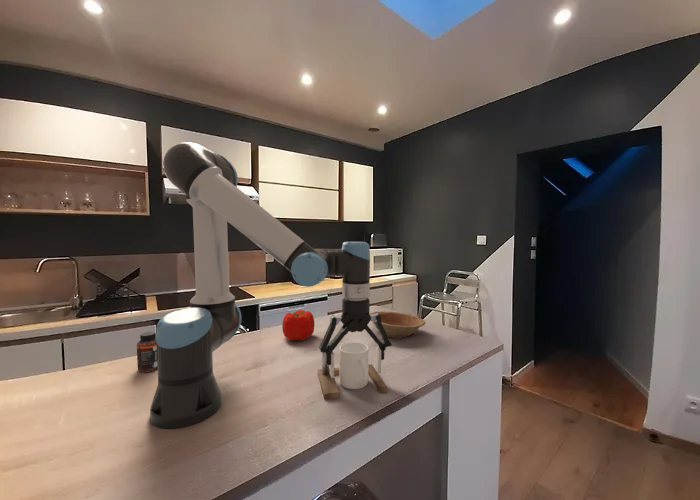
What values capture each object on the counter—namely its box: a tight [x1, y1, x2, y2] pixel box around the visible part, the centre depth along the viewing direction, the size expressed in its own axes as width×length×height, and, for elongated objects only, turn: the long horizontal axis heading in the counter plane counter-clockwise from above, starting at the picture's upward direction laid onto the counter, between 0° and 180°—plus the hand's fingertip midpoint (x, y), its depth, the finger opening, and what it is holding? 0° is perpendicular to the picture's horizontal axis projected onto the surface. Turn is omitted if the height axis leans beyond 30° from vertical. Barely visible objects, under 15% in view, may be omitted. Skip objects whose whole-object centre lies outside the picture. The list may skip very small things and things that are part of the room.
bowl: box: [369, 311, 426, 339], centre depth 127 cm, size 24×24×8 cm
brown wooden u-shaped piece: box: [317, 363, 388, 400], centre depth 87 cm, size 17×14×2 cm
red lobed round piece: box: [281, 309, 315, 342], centre depth 123 cm, size 14×13×10 cm
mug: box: [338, 341, 370, 390], centre depth 85 cm, size 12×8×10 cm
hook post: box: [321, 342, 330, 375], centre depth 87 cm, size 2×6×10 cm, turn 13°
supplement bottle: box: [136, 331, 158, 373], centre depth 95 cm, size 6×6×11 cm
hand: (355, 373), depth 85 cm, fingers open, 13 cm apart
